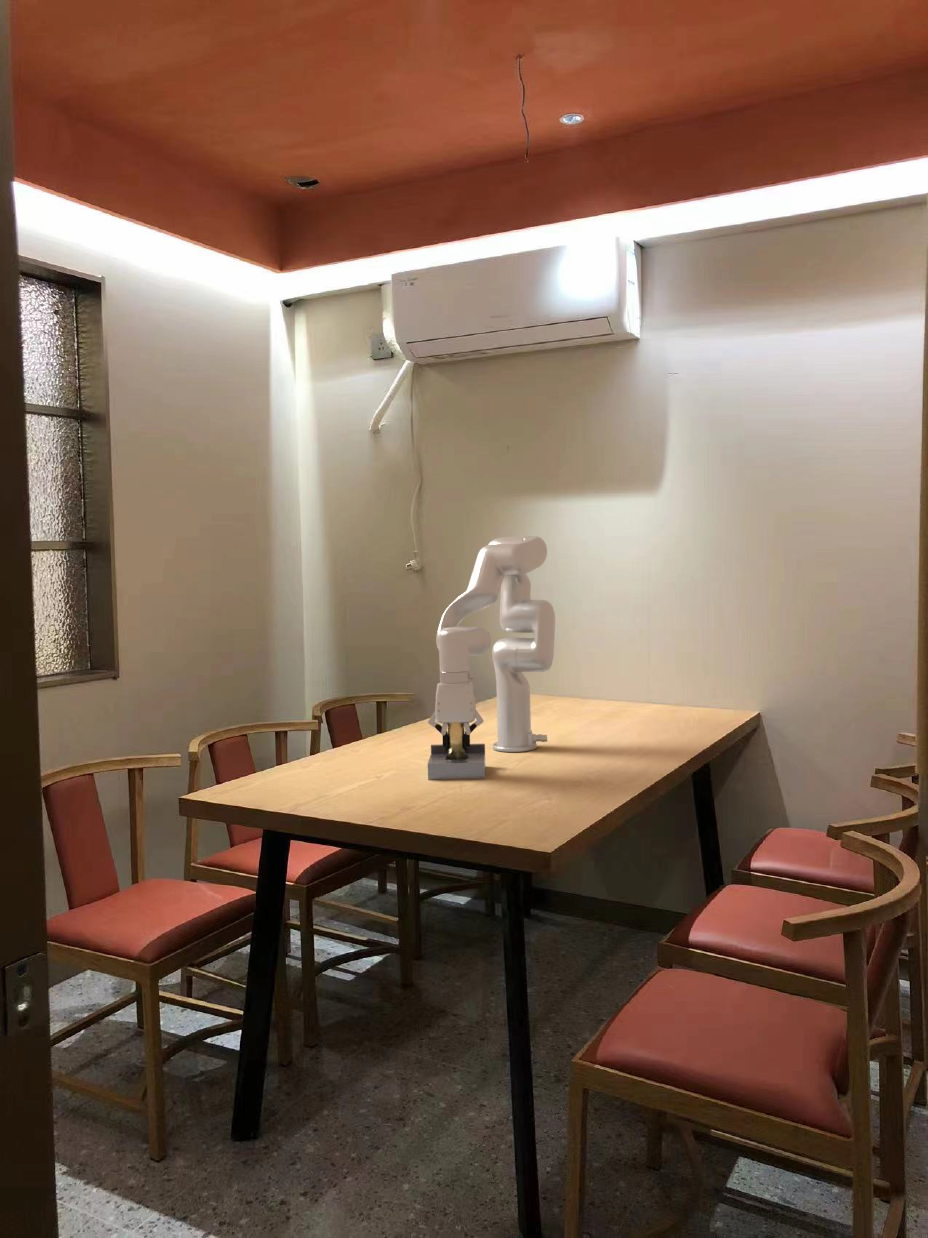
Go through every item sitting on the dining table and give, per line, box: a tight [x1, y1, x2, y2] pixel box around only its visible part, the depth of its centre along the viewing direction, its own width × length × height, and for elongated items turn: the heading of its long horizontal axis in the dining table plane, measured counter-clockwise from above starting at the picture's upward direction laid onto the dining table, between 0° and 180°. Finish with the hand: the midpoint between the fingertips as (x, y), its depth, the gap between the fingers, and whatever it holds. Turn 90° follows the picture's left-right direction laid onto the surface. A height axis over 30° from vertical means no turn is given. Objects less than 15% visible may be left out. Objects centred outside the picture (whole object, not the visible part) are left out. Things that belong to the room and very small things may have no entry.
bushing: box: [447, 722, 465, 758], centre depth 247 cm, size 4×4×9 cm
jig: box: [427, 743, 486, 781], centre depth 247 cm, size 14×14×6 cm
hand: (456, 749), depth 247 cm, fingers closed on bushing, 4 cm apart
